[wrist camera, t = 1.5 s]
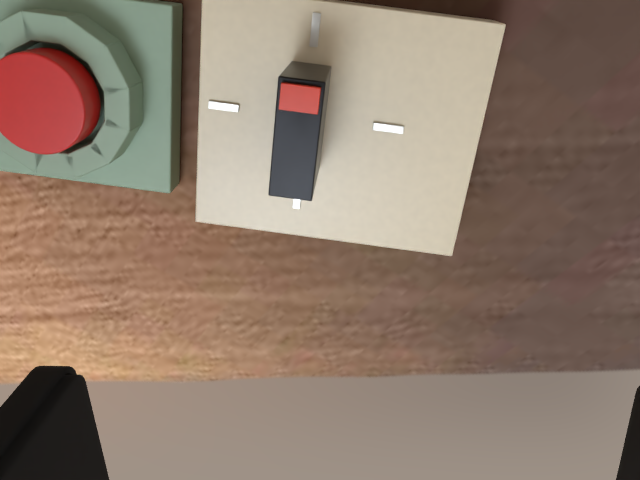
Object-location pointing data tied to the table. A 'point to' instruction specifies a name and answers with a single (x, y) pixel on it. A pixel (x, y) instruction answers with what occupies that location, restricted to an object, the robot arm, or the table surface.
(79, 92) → the power button
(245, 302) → the table surface
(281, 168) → the knob
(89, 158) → the power switch
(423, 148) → the panel
